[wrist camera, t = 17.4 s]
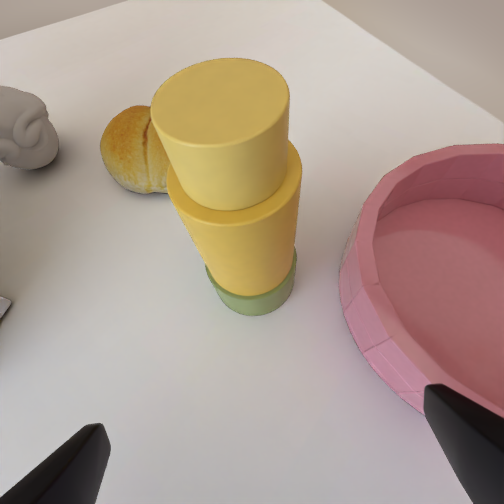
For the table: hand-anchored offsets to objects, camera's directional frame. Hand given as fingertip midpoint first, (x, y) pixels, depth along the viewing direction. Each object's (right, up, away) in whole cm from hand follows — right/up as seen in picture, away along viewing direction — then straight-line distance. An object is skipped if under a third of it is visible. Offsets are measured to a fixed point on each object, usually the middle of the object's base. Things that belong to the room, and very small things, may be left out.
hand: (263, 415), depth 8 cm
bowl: (+12, +2, +8) cm, 15 cm away
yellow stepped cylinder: (0, +3, +10) cm, 10 cm away
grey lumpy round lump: (-19, +13, +17) cm, 28 cm away
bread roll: (-7, +12, +16) cm, 21 cm away
